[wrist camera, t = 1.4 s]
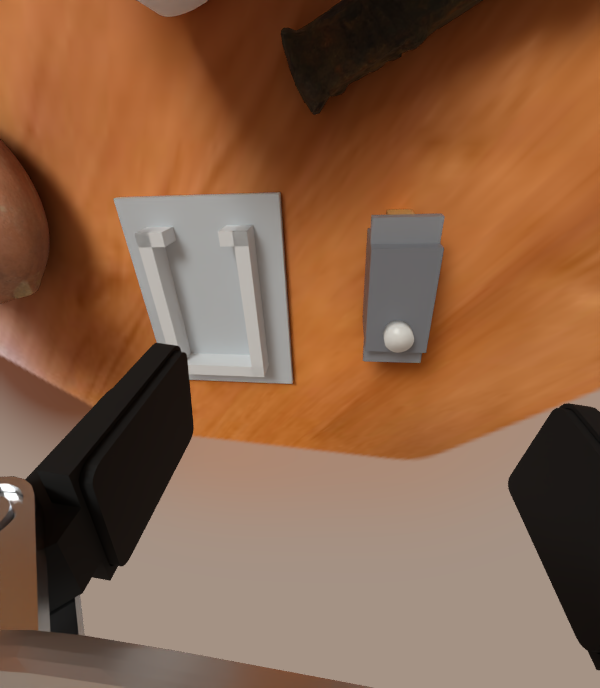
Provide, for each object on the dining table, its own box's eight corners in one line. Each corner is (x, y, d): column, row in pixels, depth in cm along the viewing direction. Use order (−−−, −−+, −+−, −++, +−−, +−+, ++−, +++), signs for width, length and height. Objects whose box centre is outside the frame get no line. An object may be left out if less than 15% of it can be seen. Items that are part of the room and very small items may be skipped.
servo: (430, 203, 23) (453, 224, 18) (411, 335, 28) (425, 380, 23) (368, 205, 23) (374, 225, 18) (361, 333, 28) (364, 377, 23)
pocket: (280, 192, 23) (273, 197, 21) (293, 379, 32) (289, 396, 30) (118, 197, 25) (97, 202, 23) (170, 374, 33) (159, 390, 31)
